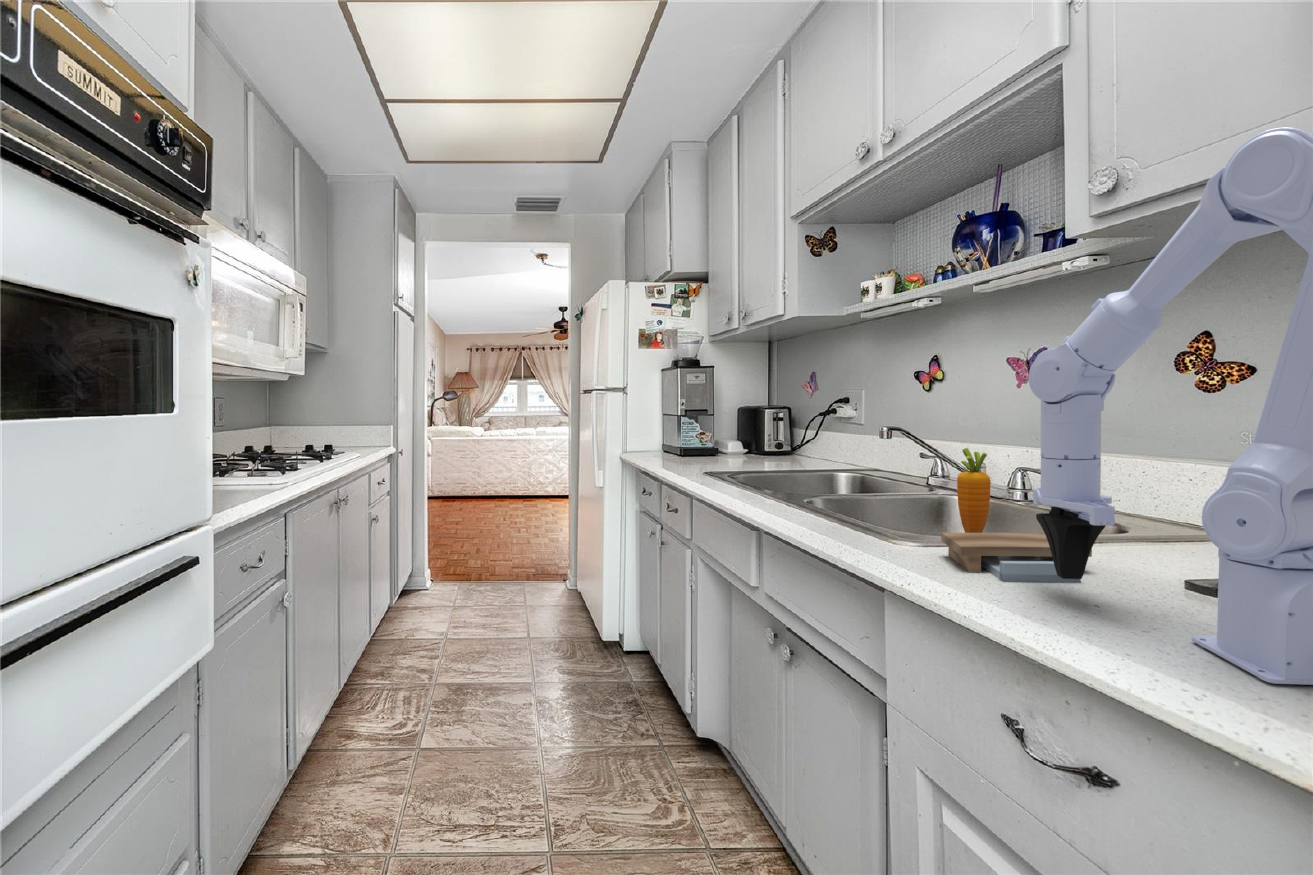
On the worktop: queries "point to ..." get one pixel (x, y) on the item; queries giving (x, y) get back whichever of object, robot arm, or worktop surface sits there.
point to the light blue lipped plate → (1023, 569)
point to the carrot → (973, 494)
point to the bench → (994, 546)
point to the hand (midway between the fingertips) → (1069, 577)
